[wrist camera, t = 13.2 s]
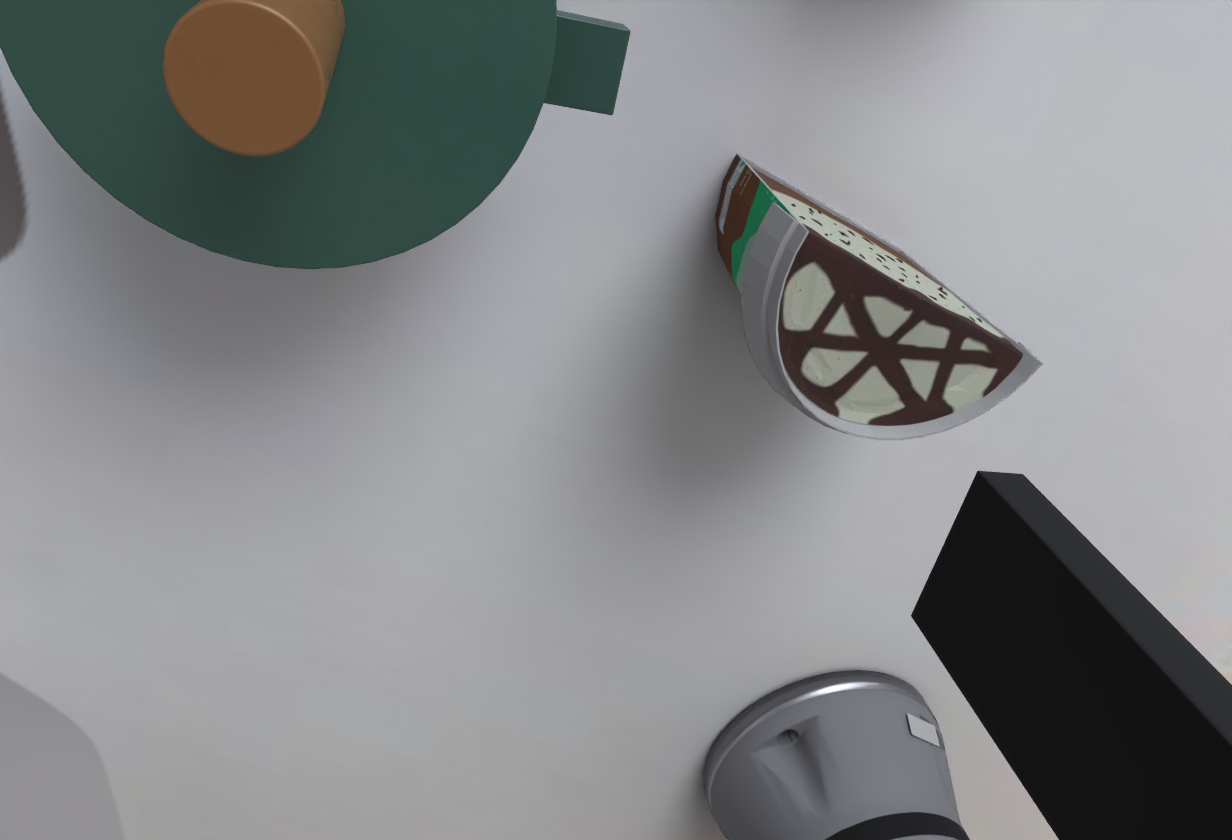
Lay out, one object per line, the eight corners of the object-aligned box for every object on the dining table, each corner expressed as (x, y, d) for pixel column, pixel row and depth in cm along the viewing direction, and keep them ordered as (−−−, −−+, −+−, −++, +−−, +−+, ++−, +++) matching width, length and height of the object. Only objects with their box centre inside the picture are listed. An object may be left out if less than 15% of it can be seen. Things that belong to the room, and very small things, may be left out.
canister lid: (508, 281, 29) (543, 427, 22) (20, 218, 26) (-129, 369, 18) (596, -231, 23) (687, -260, 16) (-43, -414, 19) (-313, -564, 12)
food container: (629, 265, 40) (689, 380, 31) (707, 136, 37) (794, 223, 29) (845, 372, 45) (945, 495, 36) (925, 264, 42) (1052, 369, 34)
